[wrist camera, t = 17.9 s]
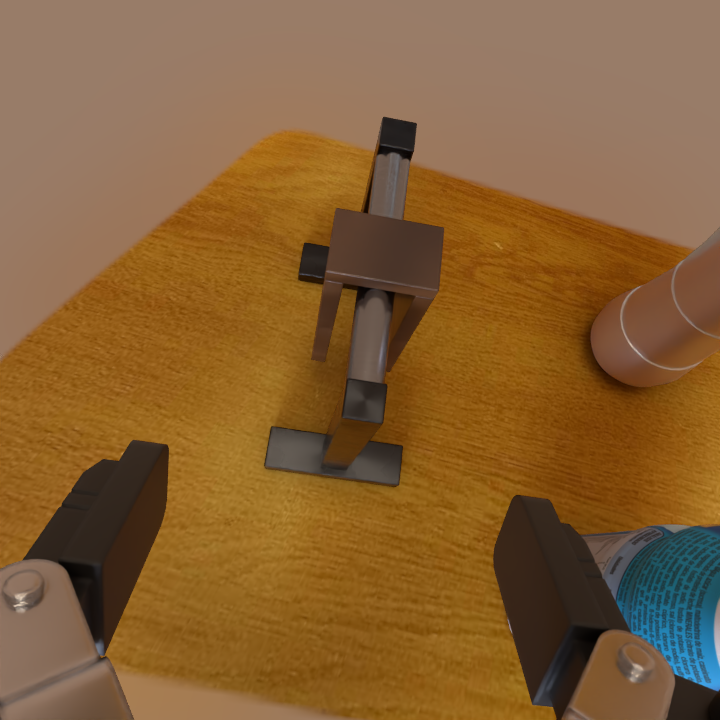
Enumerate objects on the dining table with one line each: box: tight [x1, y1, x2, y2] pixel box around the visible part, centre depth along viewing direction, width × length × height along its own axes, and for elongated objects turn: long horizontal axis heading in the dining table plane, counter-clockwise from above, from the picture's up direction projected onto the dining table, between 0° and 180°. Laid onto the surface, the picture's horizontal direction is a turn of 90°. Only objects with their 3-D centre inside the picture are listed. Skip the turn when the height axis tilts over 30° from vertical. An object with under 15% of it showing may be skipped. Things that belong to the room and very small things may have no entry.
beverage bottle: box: [508, 524, 720, 691], centre depth 25 cm, size 8×8×20 cm
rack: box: [264, 117, 417, 487], centre depth 30 cm, size 8×15×14 cm, turn 173°
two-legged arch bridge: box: [311, 208, 444, 372], centre depth 28 cm, size 5×3×11 cm, turn 83°
